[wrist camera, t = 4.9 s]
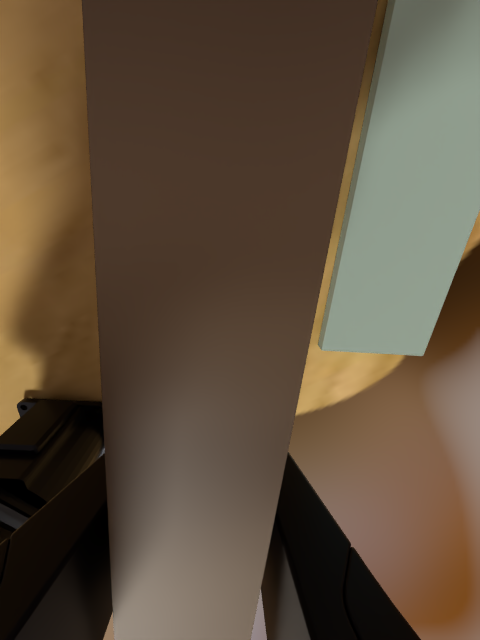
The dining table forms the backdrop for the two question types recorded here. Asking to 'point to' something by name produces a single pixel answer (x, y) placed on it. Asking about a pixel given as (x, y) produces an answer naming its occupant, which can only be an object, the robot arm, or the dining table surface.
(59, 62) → the dining table surface
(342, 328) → the tool mat
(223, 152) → the wooden plank
